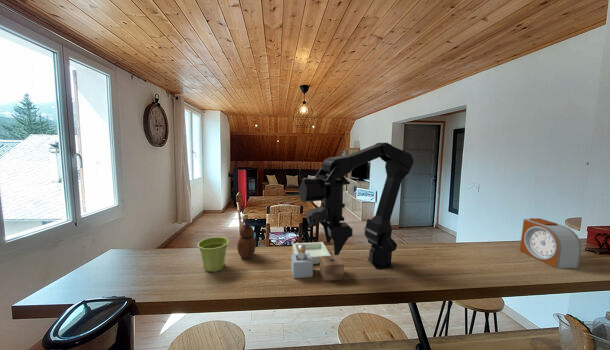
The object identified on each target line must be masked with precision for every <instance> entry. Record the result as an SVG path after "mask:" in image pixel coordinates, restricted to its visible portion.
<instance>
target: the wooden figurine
mask: <svg viewBox="0 0 610 350" xmlns="http://www.w3.org/2000/svg"><path fill="white" fill-rule="evenodd" d="M253 234H254V228H253V226H252V225H248V218H247V217H245V225H243V226H241V227H240V230H239V235H240V237H239V239H238V242H237V246H236V247H237V253H238V255H239V256H240V257H241V258H242V259H250V258H251V257H253V256H254V253H255V252H256V251H255V250H256V245H257V242H256V237H255V236H254V235H253Z"/></svg>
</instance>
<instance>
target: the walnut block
mask: <svg viewBox="0 0 610 350" xmlns="http://www.w3.org/2000/svg"><path fill="white" fill-rule="evenodd" d="M344 270H345V264H344V262H343V261H342V259H341V258H340V256H339V255H335V254H333V255H331V256H320V264H319V273H320V275H321V277H322V279H323V281H324V282H327V280H328V281H340V280H344V272H345V271H344Z"/></svg>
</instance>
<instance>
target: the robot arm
mask: <svg viewBox="0 0 610 350" xmlns="http://www.w3.org/2000/svg"><path fill="white" fill-rule="evenodd" d="M379 158H380V160H381V161H383V162H385V163H384V164H385V166H384V167H385V168H384V169H385V173H386V178H385V181H384V185H383V189H382V192H381V195H380V197H379V202H378V204H377V205H378V206H377V208H376V212H375V215H374V216H373V217H372V218H371V219H369V218H368V219H366V223H365V226H364V228H363V230H364V236H365V238H366V240H367V242H368V244H370V249H369V252H368V253H369V255H368V262H369V263H370V264H372V266H373V267H374V268H375V269H388V268H389V269H390V268H394V264H392V258H393V257H392V255H393V252H394V251H396V249H397V247H398V244H397V243H396V241H395V240H394V239H393V238H392V232H393V228H392V223H391V219H392V215H393V211H394V208H395V205H396V201H397V198H398V196H399V195H398V194H399V190H400V188H401V184H402V180H403V179H404V178H405V177H406V176H408V174H409V173H410V172H411V169H412V168H413V165H414V158H413V156H412V154H411V153H410V152H407V151H405V150H403V149H400V148H398V147H396V146H393V145H392V144H390V143H389V142H377V143H375V144H373V145H371V146H368V147H365V148H362V149H359V150H357V151H355V152H352V153H349V154H346V155H337V156H331V157H327V158H325V159H324V160H323V161H322V165H321V168H320V169H319V170H318V172H317V173H316V175H315V177H314V178H308V177H303V178H301V183H300V185H299V188H298V196H299V198H300V201H301V202H302V203H309V202H319V201H321V204H320V205H321V206H317V207H314V208H312V209H309V210H307V211H305V212H304V214H305V215H304V216H305V218H306V220H307V223H308V225H309V226H315V225H316V224H318V223H319V224H320V225H321V226H322V229H323V231H324V232H323V233H324V237H325V242H326V243H327V244H330V243H331V241H332V247H333V255H338V256H339V254H340V253H341V251H342V249H343V248H344V246H345V244H346V242H347V241H348V240H349V238H352V237H353V234H354V233H353V231H354V230H353V228H352V226H350V225H349V223H347V222H346V221H345V217H344V216H343V213H344V212H343V209H344V208H346V204H345V203H344V185H346V186H347V185H350V184H351V182H350V181H349V180H348V179H347V178H346V177H345V176H347V175H348V174H350V173H351V172H352V171H353V170H354V169H355V168H357V167H359V166H361V165H364V164H366V163H369V162H372V161H374V160H377V159H379ZM344 221H345V222H344Z"/></svg>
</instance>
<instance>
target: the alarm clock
mask: <svg viewBox="0 0 610 350" xmlns="http://www.w3.org/2000/svg"><path fill="white" fill-rule="evenodd" d="M519 246H520V247H519V251H520V252H522V253H524V254H526V255H528V256H530V257H533V258H534V259H537V260H538V261H541V262H543V263H545V264H547V265H549V266H551V267H553V268H556V269H579V267H580V261H581V255H582V242H581V239H580V238H579V236H578V235H577V234H576V232H574V231H573V230H572V229H571V228H569V227H567V226H565V225H561V224H558V223H556V222H553V221H550V220H546V219H543V218H537V217H536V218H535V217H534V218H533V217H530V218H524V219H523V223H522V231H521V237H520V245H519Z"/></svg>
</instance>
